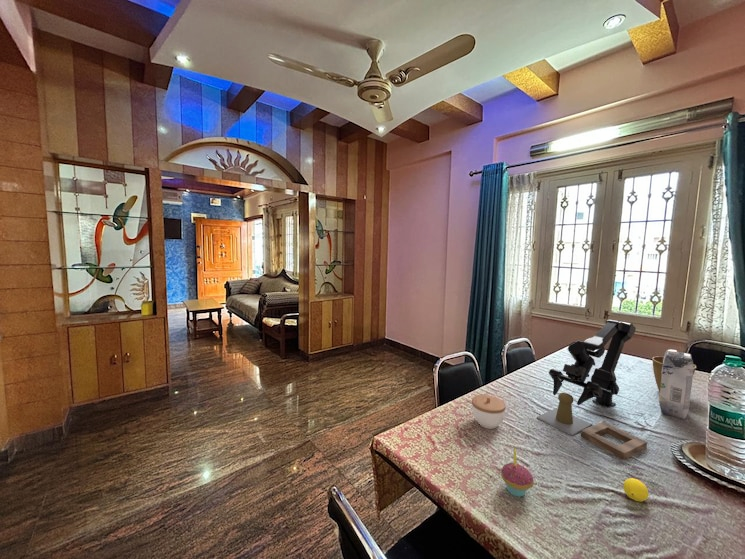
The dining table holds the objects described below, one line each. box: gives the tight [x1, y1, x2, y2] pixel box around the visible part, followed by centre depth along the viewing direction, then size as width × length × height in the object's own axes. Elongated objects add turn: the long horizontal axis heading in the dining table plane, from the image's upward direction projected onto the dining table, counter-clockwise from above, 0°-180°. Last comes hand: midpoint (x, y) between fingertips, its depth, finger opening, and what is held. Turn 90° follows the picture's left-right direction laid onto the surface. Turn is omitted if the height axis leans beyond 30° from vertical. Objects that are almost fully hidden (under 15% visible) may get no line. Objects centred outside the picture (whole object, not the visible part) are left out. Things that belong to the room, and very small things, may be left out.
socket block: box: [579, 421, 648, 461], centre depth 111 cm, size 14×14×2 cm
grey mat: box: [536, 407, 593, 437], centre depth 124 cm, size 14×14×1 cm
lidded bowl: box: [471, 394, 507, 430], centre depth 122 cm, size 13×13×11 cm
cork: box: [556, 392, 574, 424], centre depth 123 cm, size 6×6×11 cm
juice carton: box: [658, 349, 694, 420], centre depth 129 cm, size 9×10×27 cm
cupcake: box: [500, 447, 535, 497], centre depth 89 cm, size 9×8×12 cm
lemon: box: [622, 477, 650, 502], centre depth 86 cm, size 7×5×5 cm
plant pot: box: [652, 356, 697, 393], centre depth 146 cm, size 15×15×16 cm
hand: (565, 399), depth 123 cm, fingers open, 9 cm apart
